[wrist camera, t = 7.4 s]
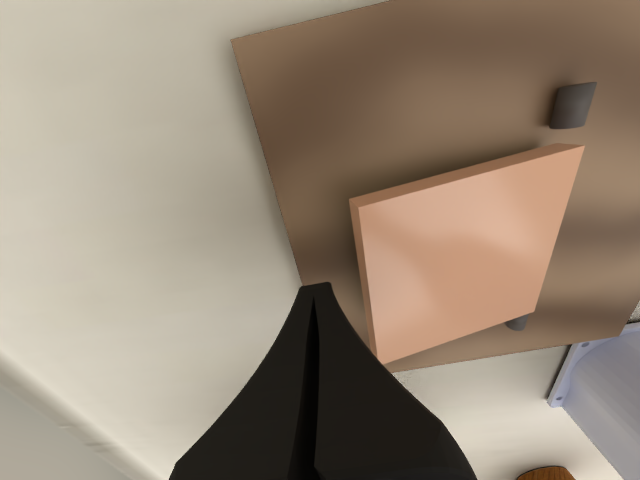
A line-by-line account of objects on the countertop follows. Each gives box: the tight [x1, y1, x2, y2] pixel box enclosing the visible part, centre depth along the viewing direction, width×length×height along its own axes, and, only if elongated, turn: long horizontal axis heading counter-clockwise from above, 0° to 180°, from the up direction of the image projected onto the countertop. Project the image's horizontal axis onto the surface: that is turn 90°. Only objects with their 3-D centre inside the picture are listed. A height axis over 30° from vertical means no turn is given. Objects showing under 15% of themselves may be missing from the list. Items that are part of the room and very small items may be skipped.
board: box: [231, 0, 640, 373], centre depth 12 cm, size 20×20×2 cm
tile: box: [349, 143, 585, 364], centre depth 11 cm, size 9×1×9 cm
